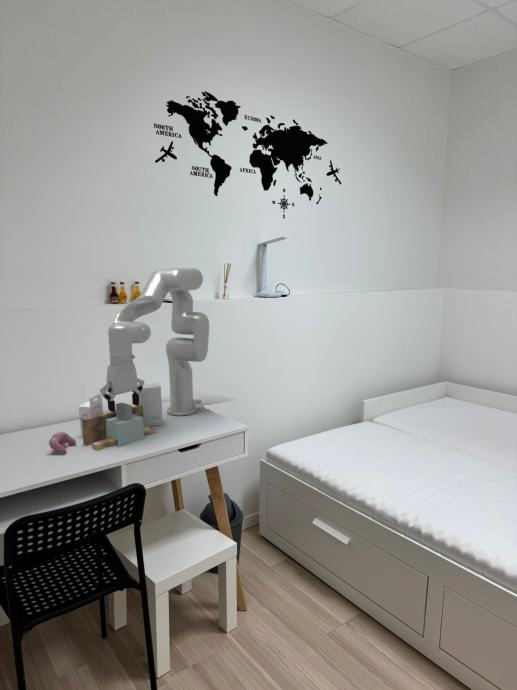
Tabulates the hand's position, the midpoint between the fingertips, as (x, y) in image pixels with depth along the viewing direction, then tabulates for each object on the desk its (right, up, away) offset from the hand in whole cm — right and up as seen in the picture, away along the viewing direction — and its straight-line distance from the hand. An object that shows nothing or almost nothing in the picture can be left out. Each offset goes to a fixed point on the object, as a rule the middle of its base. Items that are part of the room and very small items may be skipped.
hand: (124, 408), depth 176 cm
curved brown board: (-2, -11, +3) cm, 12 cm away
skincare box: (+5, -9, +19) cm, 22 cm away
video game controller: (-19, -13, -7) cm, 24 cm away
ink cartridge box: (-14, -11, +8) cm, 20 cm away
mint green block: (0, -12, +2) cm, 12 cm away
